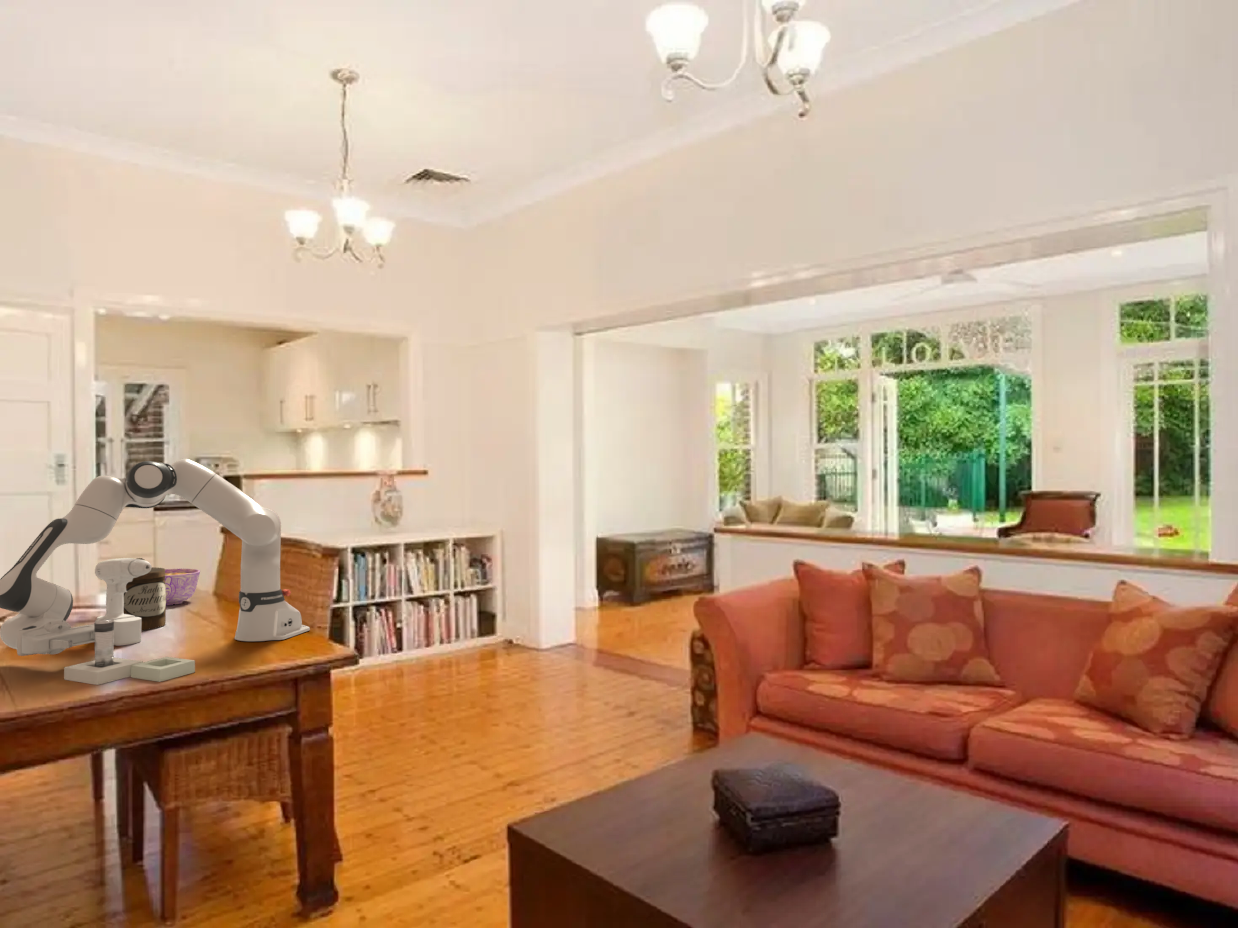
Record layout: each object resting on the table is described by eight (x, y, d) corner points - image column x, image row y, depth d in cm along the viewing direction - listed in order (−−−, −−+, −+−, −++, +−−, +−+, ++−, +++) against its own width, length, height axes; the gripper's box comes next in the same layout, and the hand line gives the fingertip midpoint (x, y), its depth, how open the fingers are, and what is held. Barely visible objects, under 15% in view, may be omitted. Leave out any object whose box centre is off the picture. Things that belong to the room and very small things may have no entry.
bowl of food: (157, 610, 300) (157, 577, 300) (128, 604, 311) (128, 572, 311) (211, 602, 317) (211, 571, 317) (181, 596, 328) (181, 567, 328)
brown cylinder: (129, 633, 261) (129, 562, 261) (102, 628, 269) (102, 558, 269) (175, 625, 274) (175, 557, 274) (148, 620, 282) (148, 554, 282)
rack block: (166, 668, 219) (166, 656, 219) (194, 672, 215) (194, 660, 215) (131, 677, 210) (131, 665, 210) (160, 681, 206) (159, 669, 206)
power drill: (132, 650, 238) (132, 561, 238) (87, 640, 251) (87, 556, 251) (162, 644, 246) (162, 558, 245) (117, 635, 258) (117, 553, 258)
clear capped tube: (106, 673, 214) (106, 617, 214) (117, 675, 212) (117, 619, 212) (90, 677, 210) (90, 620, 210) (102, 679, 208) (102, 622, 208)
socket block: (110, 668, 219) (110, 656, 219) (143, 673, 214) (143, 661, 214) (64, 679, 208) (64, 667, 208) (97, 684, 203) (97, 672, 203)
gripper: (90, 640, 227) (126, 644, 222) (10, 656, 209) (47, 661, 203) (90, 617, 227) (126, 620, 222) (10, 631, 209) (47, 635, 203)
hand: (88, 640), depth 212 cm, fingers open, 8 cm apart
